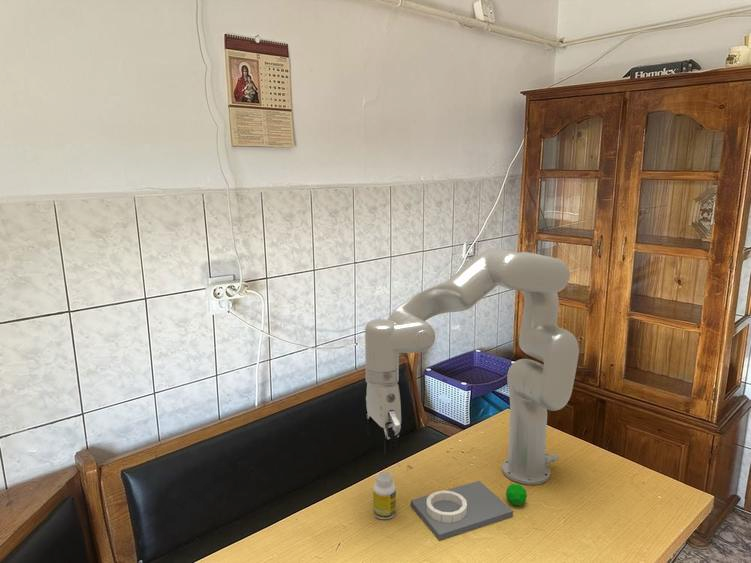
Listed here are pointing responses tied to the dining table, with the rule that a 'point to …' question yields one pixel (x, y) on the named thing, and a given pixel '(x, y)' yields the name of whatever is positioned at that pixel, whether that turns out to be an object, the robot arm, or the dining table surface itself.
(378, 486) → the supplement bottle
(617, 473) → the dining table surface
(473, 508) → the pin board
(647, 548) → the dining table surface
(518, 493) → the polyhedron
